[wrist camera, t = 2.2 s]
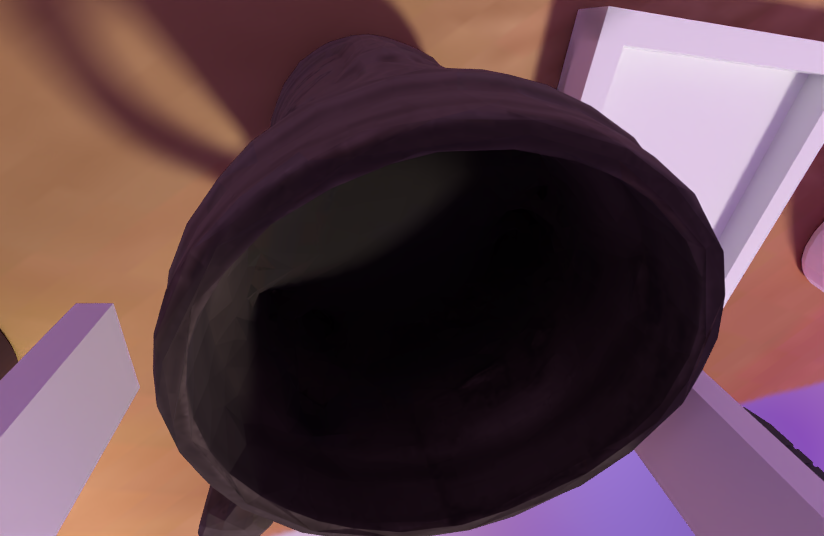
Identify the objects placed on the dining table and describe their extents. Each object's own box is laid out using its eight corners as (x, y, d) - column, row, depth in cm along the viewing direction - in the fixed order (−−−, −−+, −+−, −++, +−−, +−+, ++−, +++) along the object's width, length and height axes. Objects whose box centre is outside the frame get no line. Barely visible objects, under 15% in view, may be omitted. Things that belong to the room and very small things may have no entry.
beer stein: (335, -31, 19) (246, -270, 2) (501, 95, 23) (880, 321, 7) (224, 221, 25) (-11, 633, 9) (371, 283, 29) (400, 640, 13)
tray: (493, 326, 32) (505, 350, 30) (578, 9, 22) (608, 5, 19) (677, 322, 36) (701, 343, 34) (828, 49, 25) (879, 51, 23)
